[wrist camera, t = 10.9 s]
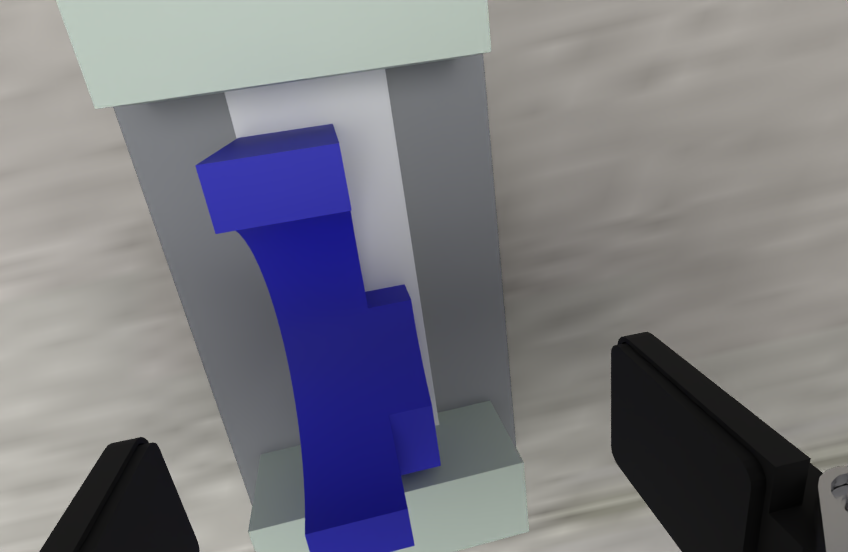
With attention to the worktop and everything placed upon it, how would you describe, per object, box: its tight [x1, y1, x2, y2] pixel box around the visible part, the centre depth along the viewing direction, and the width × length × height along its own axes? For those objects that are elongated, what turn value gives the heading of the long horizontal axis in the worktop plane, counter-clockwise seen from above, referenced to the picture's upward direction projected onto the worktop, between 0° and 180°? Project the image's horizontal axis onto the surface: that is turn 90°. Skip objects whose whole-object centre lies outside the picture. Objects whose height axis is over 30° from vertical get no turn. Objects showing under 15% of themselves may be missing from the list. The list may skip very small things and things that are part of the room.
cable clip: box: [195, 124, 441, 552], centre depth 16 cm, size 12×4×6 cm, turn 8°
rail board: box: [56, 0, 529, 552], centre depth 18 cm, size 12×22×5 cm, turn 8°
